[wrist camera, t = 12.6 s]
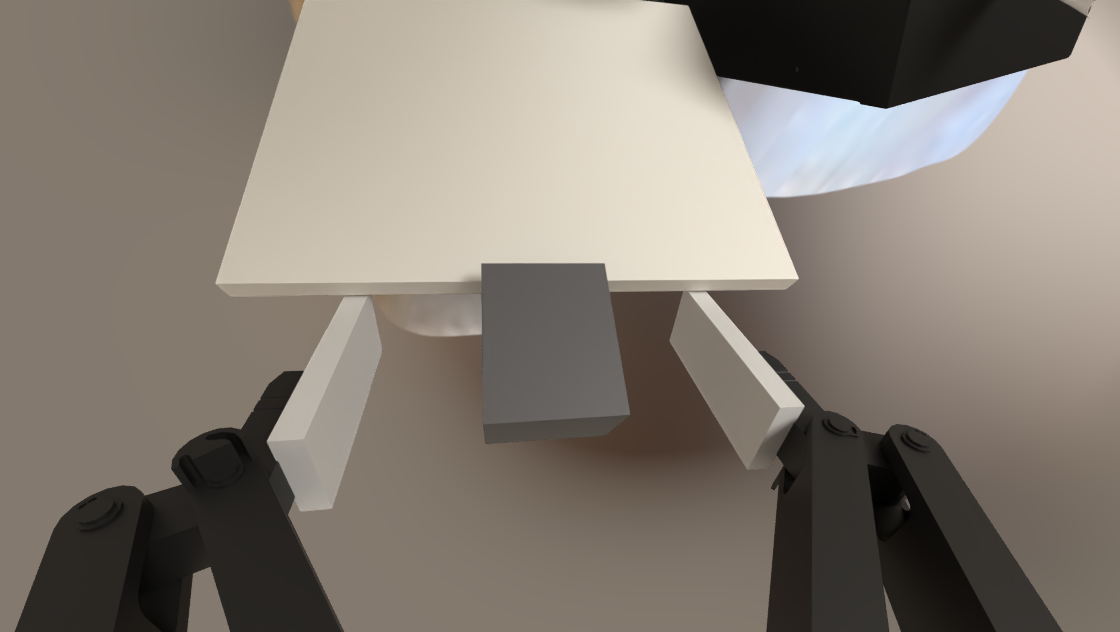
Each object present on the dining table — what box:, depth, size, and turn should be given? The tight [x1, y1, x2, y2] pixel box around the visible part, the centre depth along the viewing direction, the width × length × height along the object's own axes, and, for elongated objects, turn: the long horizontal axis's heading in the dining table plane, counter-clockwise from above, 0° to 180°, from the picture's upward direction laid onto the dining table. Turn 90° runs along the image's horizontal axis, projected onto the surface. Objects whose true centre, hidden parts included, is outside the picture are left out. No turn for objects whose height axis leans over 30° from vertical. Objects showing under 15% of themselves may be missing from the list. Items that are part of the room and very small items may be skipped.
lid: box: [216, 0, 799, 444], centre depth 18 cm, size 24×20×3 cm
